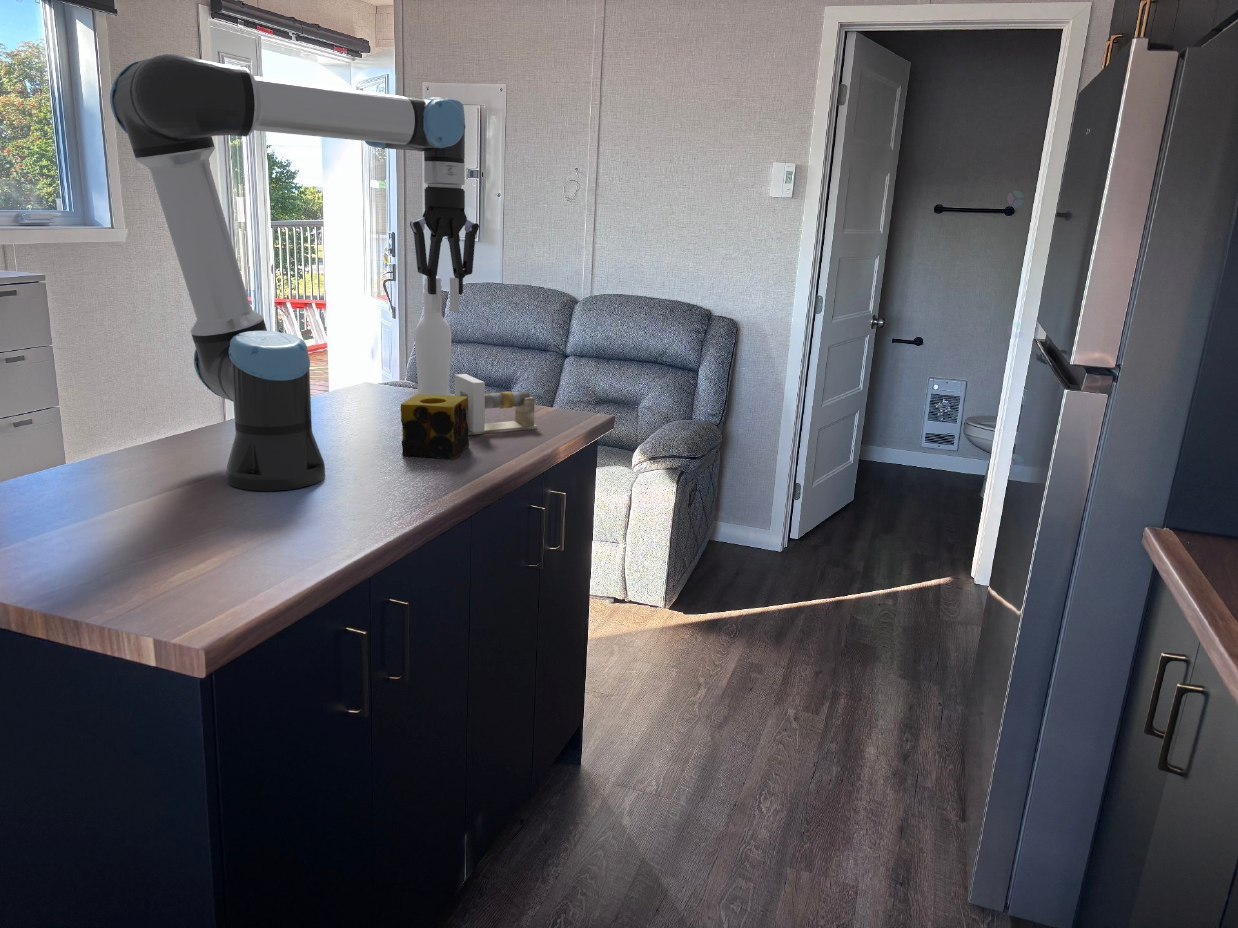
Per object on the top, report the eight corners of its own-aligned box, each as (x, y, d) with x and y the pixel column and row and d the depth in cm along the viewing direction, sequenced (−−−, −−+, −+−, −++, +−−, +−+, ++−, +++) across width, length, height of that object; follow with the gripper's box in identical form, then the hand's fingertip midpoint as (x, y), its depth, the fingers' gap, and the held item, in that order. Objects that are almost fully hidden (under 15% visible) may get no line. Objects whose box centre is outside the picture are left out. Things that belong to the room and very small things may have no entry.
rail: (451, 436, 184) (451, 398, 182) (441, 430, 189) (440, 393, 187) (537, 428, 194) (537, 392, 191) (524, 422, 198) (525, 387, 196)
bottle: (413, 410, 206) (411, 274, 198) (449, 409, 208) (449, 275, 200) (417, 418, 198) (414, 277, 190) (454, 417, 201) (454, 277, 193)
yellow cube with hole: (469, 447, 176) (469, 396, 174) (455, 460, 167) (455, 406, 164) (417, 444, 177) (417, 393, 175) (400, 457, 168) (399, 403, 165)
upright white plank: (473, 432, 184) (473, 382, 181) (454, 421, 192) (454, 374, 189) (484, 431, 185) (484, 382, 182) (465, 420, 193) (465, 373, 191)
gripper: (410, 184, 167) (412, 314, 173) (491, 188, 175) (491, 313, 181) (396, 184, 173) (399, 310, 179) (476, 188, 181) (476, 309, 187)
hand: (445, 311), depth 180 cm, fingers open, 3 cm apart
